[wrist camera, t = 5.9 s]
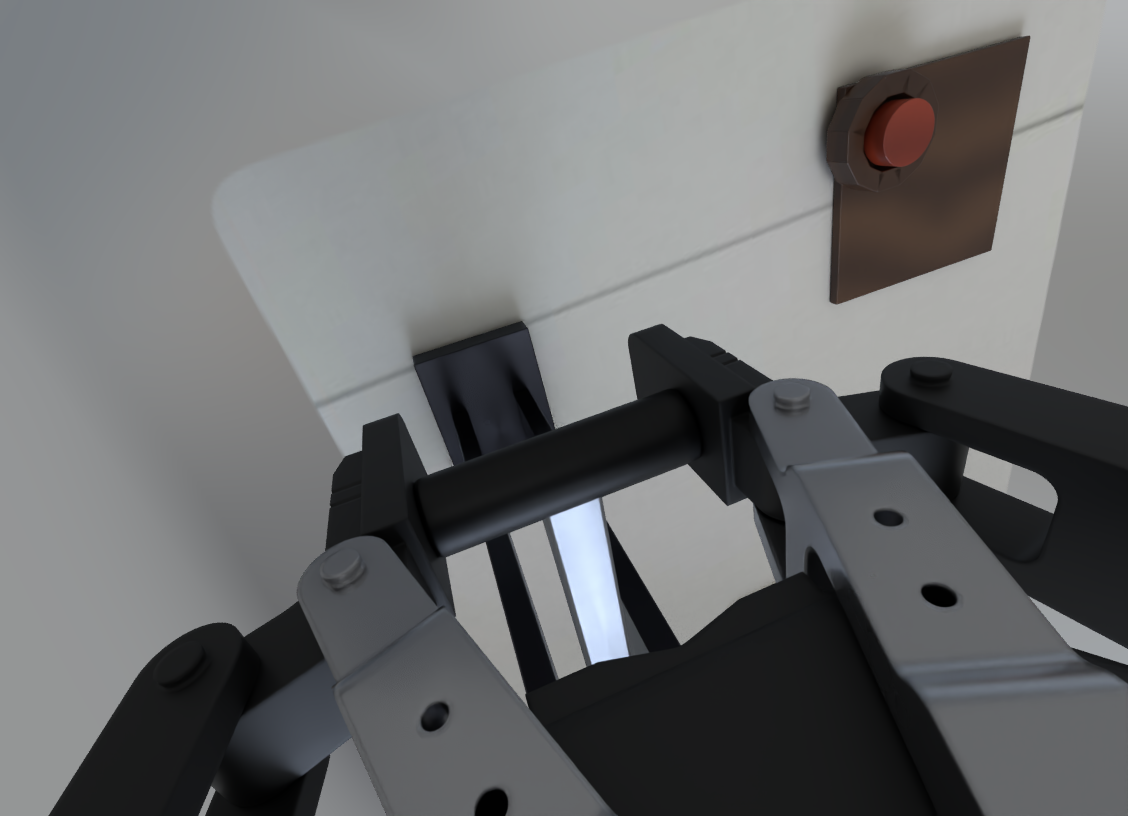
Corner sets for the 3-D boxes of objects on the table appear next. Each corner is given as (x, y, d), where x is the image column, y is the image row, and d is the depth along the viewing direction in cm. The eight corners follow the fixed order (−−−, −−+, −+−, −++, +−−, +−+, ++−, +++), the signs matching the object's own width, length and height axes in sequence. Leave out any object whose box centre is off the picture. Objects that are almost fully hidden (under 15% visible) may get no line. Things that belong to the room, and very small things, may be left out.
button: (865, 107, 32) (886, 106, 31) (915, 93, 32) (938, 91, 31) (861, 172, 34) (881, 173, 32) (909, 157, 34) (930, 158, 33)
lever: (405, 447, 10) (421, 545, 8) (653, 361, 11) (720, 433, 9) (548, 741, 19) (571, 820, 17) (678, 682, 19) (714, 752, 18)
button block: (819, 88, 33) (850, 84, 31) (1021, 32, 35) (1062, 25, 33) (815, 307, 40) (840, 317, 38) (983, 248, 42) (1015, 255, 40)
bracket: (412, 356, 32) (472, 726, 12) (522, 320, 34) (745, 606, 13) (471, 506, 38) (578, 921, 18) (563, 471, 40) (760, 827, 19)
